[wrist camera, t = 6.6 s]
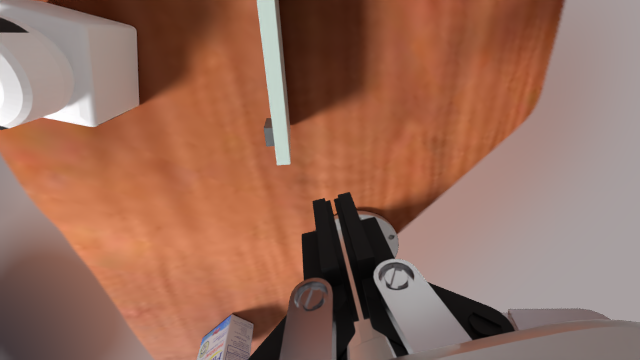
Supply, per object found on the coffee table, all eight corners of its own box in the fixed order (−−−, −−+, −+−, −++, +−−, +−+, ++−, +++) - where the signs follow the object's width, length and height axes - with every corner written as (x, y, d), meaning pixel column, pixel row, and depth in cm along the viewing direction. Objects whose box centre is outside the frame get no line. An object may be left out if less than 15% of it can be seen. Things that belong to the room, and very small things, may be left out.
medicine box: (232, 312, 42) (219, 373, 35) (254, 323, 44) (247, 383, 36) (202, 337, 44) (184, 399, 37) (225, 346, 46) (212, 408, 39)
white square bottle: (56, 88, 25) (-109, 128, 15) (42, 0, 22) (-181, -29, 12) (140, 106, 27) (44, 154, 16) (138, 26, 24) (16, 21, 13)
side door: (271, 128, 29) (263, 166, 21) (252, -23, 22) (230, -55, 14) (290, 127, 29) (290, 164, 21) (276, -24, 23) (268, -56, 14)
